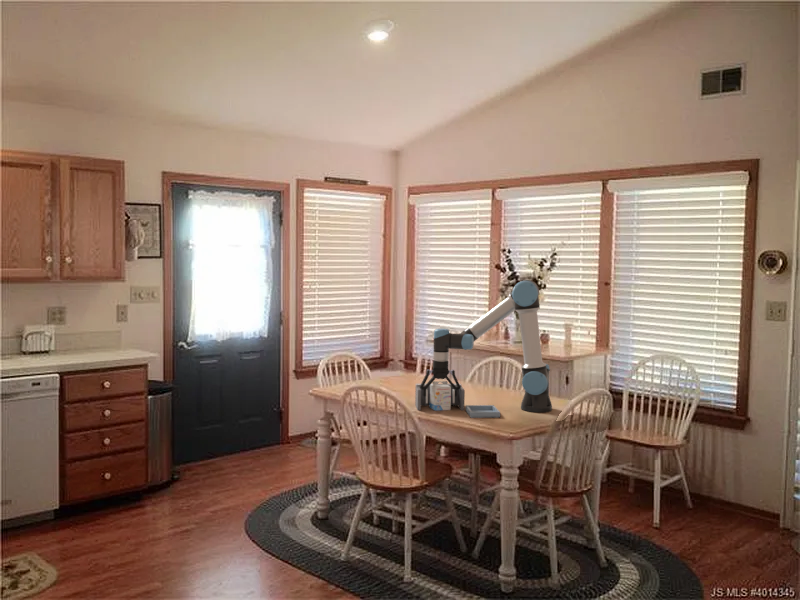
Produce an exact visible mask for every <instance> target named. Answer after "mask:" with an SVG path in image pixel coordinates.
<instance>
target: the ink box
mask: <svg viewBox="0 0 800 600" xmlns="http://www.w3.org/2000/svg"><path fill="white" fill-rule="evenodd" d="M448 384H449V382H448V380H447V381H446V380H444V381H440V380H439V381H436V380H434V381H433V382H432V383H431V384H430V402H429V408H430V409H432V410H433V411H451V407H452V406H451V387H450V386H449V385H448Z"/></svg>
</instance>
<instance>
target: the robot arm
mask: <svg viewBox="0 0 800 600" xmlns="http://www.w3.org/2000/svg"><path fill="white" fill-rule="evenodd" d="M539 295H540V288H539V286H538V284H537V283H536V282H534V281H533V280H530V279H524V280H521V281H519V282H517V283H516V284H515V285H514V287H513V288H512V290H511V291H510V292H509V293H508V296H507V297H505V298H504V299H503V300H502V301H501V302H500V303H498V304H497V305H495V306H494V307H492V308H491V309H490V310H489V311H487V312H486V313H485V314H483V315H482V316H480V318H478V319H477V320H476V321H474V322H473V323H471V324H470V325H469V326H467V327H466V328H465V329H464V330H462V331H461V332H460V333H453V332H452V333H451V332H450V330H449V329H448V328H436V329H434V331H433V355H432V356H433V360H432V361H433V362H432V364H433V365H432V370H431V369H428V368H427V369H426V370H425V371H426V373H425V376H424V378H423V379H422V381H421V382H420V384H421V385H420V388H421V389H423V395H424V396H426V398H425V402H426V403H428V390H427V388H428V387H429V386H430V384H433V383H432V382H433V381H436V379H437V380H445V379H446V380H447V382H448V384H451V385H452V387H453V388H454V389H453V391H452V403H455V396H457V390H458V389H460V388H461V387H460V385H459V384H460V383H459V380H458V378H457V376H456V371H455V369H451V370H449V353H450V352H449V351H450V349H451V350H453V349H454V350H465V351H467V350H468V351H469V350H473V348H474V342H475V341H476V340H478V339H479V338H481V337H482V336H483V335H484V334H486V333H487V332H489V331H490V330H492V329H493V328H494V327H495V326H497V325H498V324H499V323H500V322H502V321H504V319H506V318H507V317H509V316H510V315H512V314H513V313H514V312H515V311H516V312H517V314H518V318H519V326H520V328H519V329H520V338H521V346H522V354H523V364H522V365H521V376H522V379H521V380H522V381H521V385H522V388H523V389H524V395H523V398H522V401H521V403H520V409H521V410H523V411H525V412H526V411H527V412H530V413H549V412H552V411H553V406H552V405H553V404H552V401H551V397H550V393H549V392H550V391H549V390H550V372H551V371H550V370H551V369H550V365H549V364H547V363H546V362H544V361H543V354H542V345H541V338H540V329H539V328H540V327H539V319H538V311H539V309H540V308H541V306H540V297H539ZM431 374H432V376H431V378H430V379H429V380H428V378H429V376H430V375H431ZM449 374H450V375H451V376H452V378H453V380H454V382H455V383H453V382H452V380H451V379H450V378H449V376H448V375H449ZM427 380H428V382H427ZM426 382H427V383H426ZM424 384H426V385H425V386H424ZM454 384H456V385H457V387H456V386H455V385H454Z"/></svg>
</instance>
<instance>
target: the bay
mask: <svg viewBox="0 0 800 600" xmlns="http://www.w3.org/2000/svg"><path fill="white" fill-rule="evenodd" d="M426 384H427V383H425V384H424V386H425V385H426ZM453 384H454V385H455V386H456V387H457V385H456V383H453ZM420 385H421V383H415V396H414V398H415V401H414V404H415V408H416V410H417V411H421V407H423V406H427V407H428V406H429V402H430V386H429V387H428V388H427V390H428V403H426V402H425V398H426V396H424V395H423V389H421V388H420ZM448 385H449V386H450V387H451V405H453V406H452V407H454V405H455V406H456V405H458V408H459V409H460V410H461V411H465V396H466V395H465V388H463V386H462V384H461V383H459V385H460V387H461V388H460V389H458V390H457V396H455V403H452V391H453V389H454V388H453V387H452V385H451V384H450V383H448Z"/></svg>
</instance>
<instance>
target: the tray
mask: <svg viewBox="0 0 800 600" xmlns="http://www.w3.org/2000/svg"><path fill="white" fill-rule="evenodd" d="M464 411H465V413H466V414H467V415H468V416H469V418H471V419H476V418H477V419H478V418H479V419H481V418H482V419H483V418H484V419H485V418H488V419H491V418H493V419H495V418H496V419H497V418H498V419H499V418H501V412H500V410H499V409H498V408H497V407H496V406H495V405H494V404H492V405H491V404H490V405H489V404H488V405H487V404H486V405H485V404H484V405H483V404H482V405H481V404H478V405H477V404H476V405H475V404H473V405H471V404H468V405H467V404H465V406H464Z"/></svg>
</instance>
